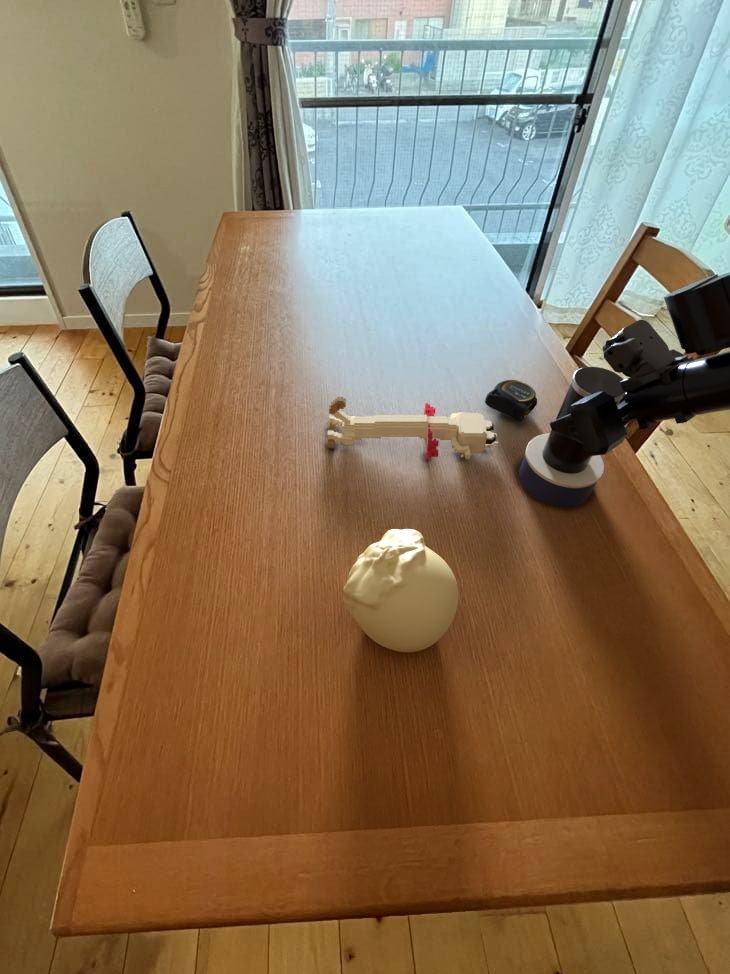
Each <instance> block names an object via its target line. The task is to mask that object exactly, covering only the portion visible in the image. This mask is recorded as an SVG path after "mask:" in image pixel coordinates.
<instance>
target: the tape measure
mask: <svg viewBox="0 0 730 974" xmlns="http://www.w3.org/2000/svg"><path fill="white" fill-rule="evenodd" d="M536 394H537V392H536V390H535V389H534V387H533V386H531V385H529V384H528V383H527V382H524V381H521V380H517V379H506V380H503V381H500V382H498V383H497V384H496V385H495V386H494V388H493V390H491V391H489V392H488V393H487V394H486V397H485V401H484V402H485V405H486V406H487V407H489V408H490V409H492V410H494V411H497V412H499V413H500V414H503V415H505V416H506V417H509V418H510V419H512V420H513V421H516V422H518V423H522V422H523V420H524V419H525V417H527V416H529V415H530V414H531V412H532V411H533V410H534V409H535V408H536V406H538V405H537V404H538V398H537V395H536Z"/></svg>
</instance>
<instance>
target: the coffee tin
mask: <svg viewBox="0 0 730 974" xmlns="http://www.w3.org/2000/svg"><path fill="white" fill-rule="evenodd" d="M549 435H550V433H543V434H539V435H537V436H535V437H533V438H532V439H530V441H529V442H528V444H527V445H526V448H525V453H524V457H523V458H522V461H521V465H520V467H519V469H518V478H519V481H520V484H521V485H522V487H523V489H524V490H525V491H526V492H527V493H528V494H529V495H531V496H532V497H534V498H535V499H537V500H538V501H540V502H543V503H544V504H548V505H550V506H555V507H560V508H561V507H563V508H568V507H575V506H579V505H581V504H583V503H585V502H586V501H587V500H588V498H589V497H590V495H591V494H592V492H593V491H594V488H595V486H596V485H597V483H598V481H600V479H601V478H602V476H603V475H604V471H605V464H604V460H603V458H602V455H597V456H592V458H591V460H590V462H589V464H588V465H587V467H586V469H585V470H584V471H582V472H580V473H575V474H568V473H563V472H560V471H557V470H555V469H553V468H552V467H550V466H549V465H548V464H547V463H546V462H545V460H544V459H543V455H542V452H543V449H544V447H545V444H546V442H547V439H548V437H549Z"/></svg>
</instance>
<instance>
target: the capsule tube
mask: <svg viewBox="0 0 730 974" xmlns="http://www.w3.org/2000/svg"><path fill="white" fill-rule="evenodd" d="M623 379H624V378H623V377H622V376H621V375H619V373H617V372H615V371H613V370H610V369H607V368H604V367H599V366H585V367H581V368H579V369H577V370H576V371H574V373H573V375H572V378H571V380H570V381H571V382H570V384H569V386H568V389H567V391H566V394H565V397H564V399H563V401H562V403H561V406H560V409H559V410H558V414H557V415H556V418H555V420H557V419H559V418H562V417H564V416H566V415H569V414H570V408H571V405H573V404H574V403H575V402H577V401H579V400H580V399H582V398H584V397H586V396H587V395H588V396H589V395H592V394H594V393H598V392H602V391H604V392H606V393H608V394H609V395H611V396H613V397H614V399H615V402H616V404H617V405H618V404H619V403H620V401H621V399H622V398H623V397H624V395H625V393H626V392H624V391H623V389H622V387H621V384H620V381H622V380H623ZM542 455H543V459H544V460H545V462H546V463H547V464H548V465H549V466H550V467H552V468H553V469H555V470H557V471H560V472H563V473H568V474H575V473H580V472H582V471H584V470H585V469H586V467H587V465H588V464H589V462H590V460H591V458H592V456H589V455H587V454H586V453H585V450H584V448H583V445H582V443H580V442H578V441H576V440H574V439H571V438H569V437H566V436H564V435H561V434H559V433H556V432H554V431H552V429H550V435H549V437H548V439H547V442H546V444H545V447H544V449H543V452H542Z"/></svg>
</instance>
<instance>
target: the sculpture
mask: <svg viewBox="0 0 730 974" xmlns="http://www.w3.org/2000/svg"><path fill="white" fill-rule="evenodd" d="M342 591H343V599H342V602H343V603H344V608H345V610H346V611H347V612H348V613H349V614H350V615H351V616H352V618H353V619H354V621H355V622H356V624H357V625H358V626H359V628H360V629H361V630H362V631H363V632H364V633H365V635H366V636H368V638H370V639H371V640H372V641H373V642H375V643H376V644H378V645H380V646H382V647H383V648H386V649H388V650H390V651H394V652H399V653H415V652H420V651H423V650H425V649H428V648H429V647H432V646H433V645H435V643H437V642H438V641H439V640H441V638H442V637H443V636H444V635H445V634H446V633H447V631H448V630H449V628H450V627H451V625H452V623H453V622H454V619H455V616H456V613H457V611H458V610H457V609H458V606H459V588H458V583H457V580H456V576H455V574H454V572H453V570H452V569H451V567H450V566H449V564H448V563H447V562H446V560H444V559H443V558H442V557H441V556H440V555H438V553H436V552H435V551H433V550H432V549H431V548H430V547H427V546H426V543H425V539H424V536H423V534H422V533H421V532H420V531H418V530H416V529H411V528H403V529H400V528H399V529H398V528H392V529H389V530H387V531H386V532H385V533H384V534H383V536H382V537H381V539H380V540H379V541H377V542H374V543H372V544H370V545H368V546H367V547H366V549H365V550H364V551H363V552H362V553H360V554H359V555H358V557H357V558H356V561H355V562H354V564H353V565H352V566H351V569H350V571H349V574H348V576H347V582H346V584H345V585H344V586H343V589H342Z"/></svg>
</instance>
